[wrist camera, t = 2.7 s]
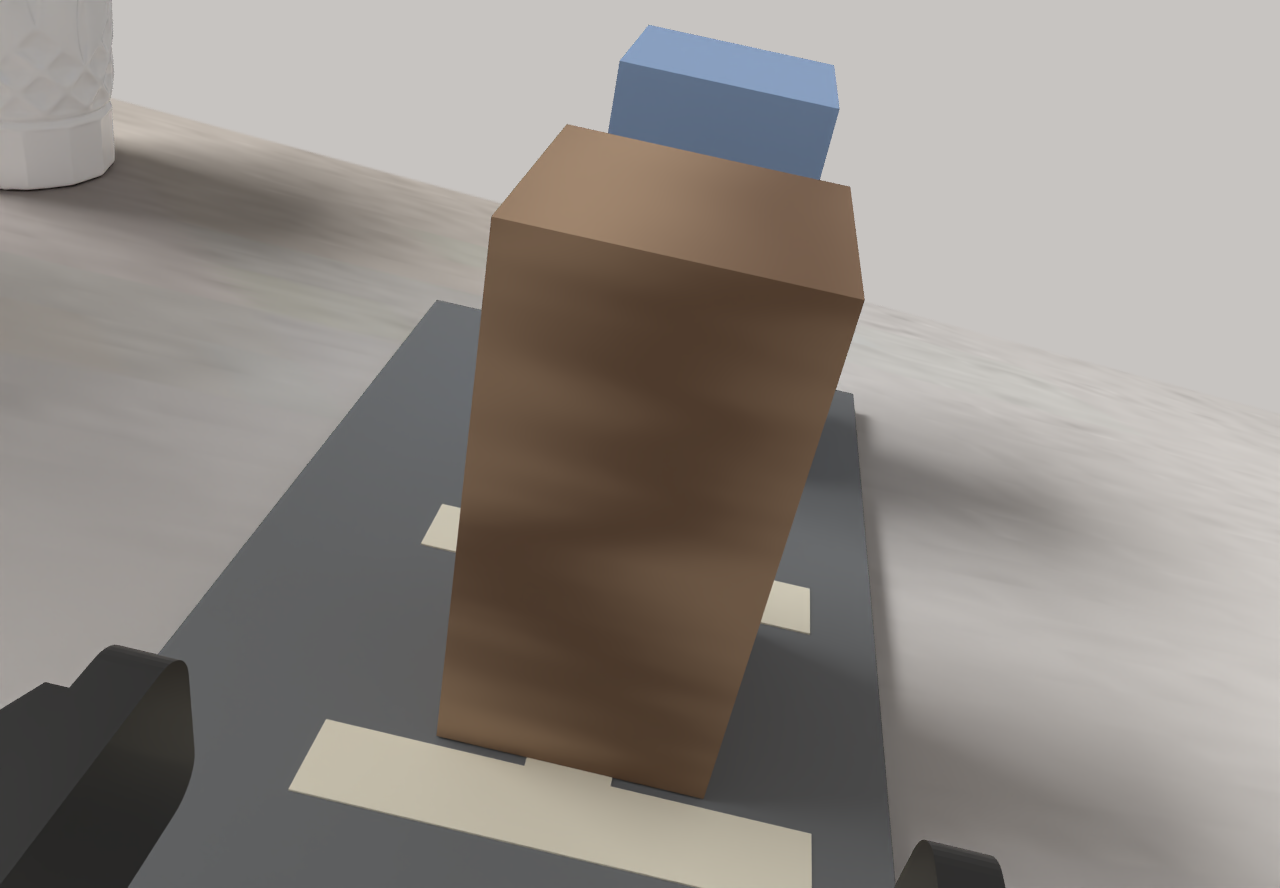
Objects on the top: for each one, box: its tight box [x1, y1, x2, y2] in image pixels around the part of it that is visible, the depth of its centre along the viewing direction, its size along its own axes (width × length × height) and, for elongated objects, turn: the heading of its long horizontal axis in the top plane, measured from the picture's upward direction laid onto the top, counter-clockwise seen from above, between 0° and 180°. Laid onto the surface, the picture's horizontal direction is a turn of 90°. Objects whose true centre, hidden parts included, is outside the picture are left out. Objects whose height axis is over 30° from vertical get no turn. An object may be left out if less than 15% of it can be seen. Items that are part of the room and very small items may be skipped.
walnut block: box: [436, 124, 865, 799], centre depth 18 cm, size 5×5×10 cm
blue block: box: [608, 25, 839, 180], centre depth 28 cm, size 5×5×10 cm
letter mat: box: [128, 300, 895, 888], centre depth 24 cm, size 14×22×1 cm, turn 172°
